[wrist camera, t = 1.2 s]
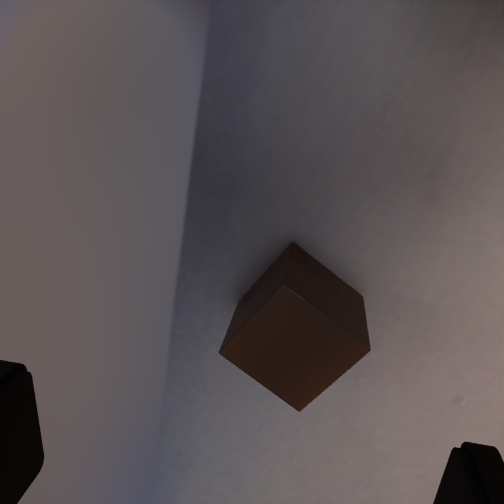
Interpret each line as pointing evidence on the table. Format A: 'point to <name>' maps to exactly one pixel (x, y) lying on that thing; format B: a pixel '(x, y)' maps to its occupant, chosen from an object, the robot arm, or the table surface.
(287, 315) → the block
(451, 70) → the table surface
